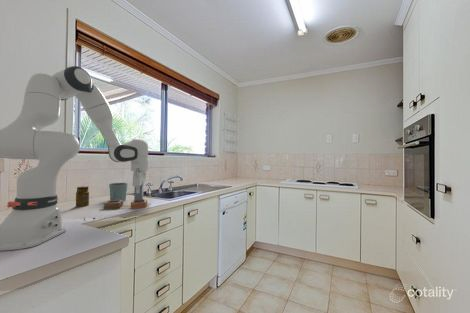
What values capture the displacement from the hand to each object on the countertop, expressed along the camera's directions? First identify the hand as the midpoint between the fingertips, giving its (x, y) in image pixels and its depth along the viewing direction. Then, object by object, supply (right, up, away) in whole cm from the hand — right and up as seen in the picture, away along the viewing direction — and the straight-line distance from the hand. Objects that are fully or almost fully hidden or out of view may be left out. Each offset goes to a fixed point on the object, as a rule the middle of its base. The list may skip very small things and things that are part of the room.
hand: (139, 192), depth 123 cm
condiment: (-31, -9, -2) cm, 32 cm away
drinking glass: (-19, -9, +14) cm, 26 cm away
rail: (-6, -9, -2) cm, 11 cm away
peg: (0, -5, 0) cm, 5 cm away
